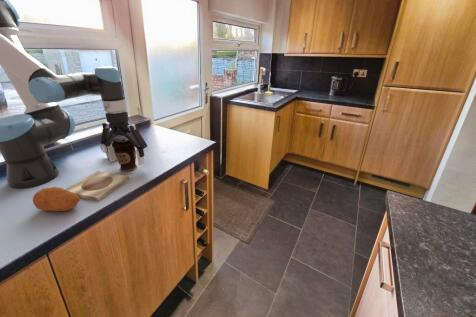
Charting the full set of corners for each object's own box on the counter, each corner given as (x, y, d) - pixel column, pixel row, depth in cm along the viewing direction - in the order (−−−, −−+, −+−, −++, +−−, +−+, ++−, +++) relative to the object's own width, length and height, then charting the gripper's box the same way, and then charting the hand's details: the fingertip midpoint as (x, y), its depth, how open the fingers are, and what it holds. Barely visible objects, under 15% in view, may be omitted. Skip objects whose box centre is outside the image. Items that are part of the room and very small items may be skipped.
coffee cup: (131, 174, 93) (124, 143, 88) (113, 172, 95) (105, 142, 89) (143, 164, 101) (138, 136, 95) (126, 162, 102) (120, 134, 97)
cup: (97, 160, 105) (92, 143, 102) (109, 153, 112) (105, 137, 109) (117, 162, 103) (113, 145, 99) (129, 155, 110) (125, 139, 106)
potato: (52, 199, 77) (45, 181, 74) (87, 203, 75) (80, 184, 72) (31, 213, 71) (22, 193, 68) (68, 218, 69) (61, 198, 66)
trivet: (63, 193, 80) (62, 190, 80) (98, 173, 93) (97, 170, 93) (98, 200, 76) (97, 197, 76) (129, 178, 90) (129, 176, 89)
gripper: (81, 111, 87) (95, 162, 96) (138, 115, 81) (148, 169, 90) (97, 107, 94) (109, 155, 103) (150, 110, 88) (159, 161, 97)
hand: (127, 162), depth 96 cm, fingers open, 13 cm apart
